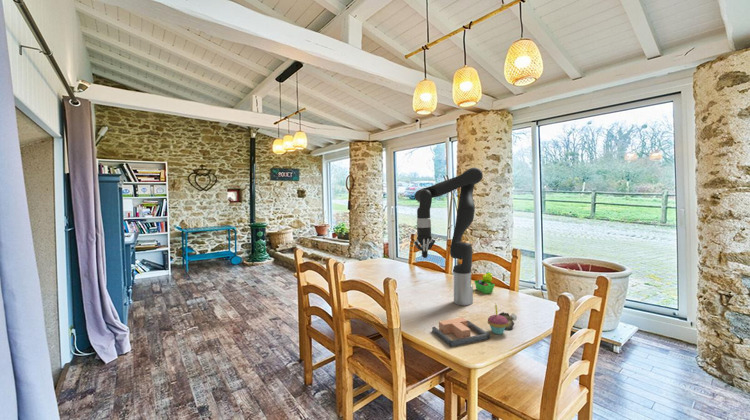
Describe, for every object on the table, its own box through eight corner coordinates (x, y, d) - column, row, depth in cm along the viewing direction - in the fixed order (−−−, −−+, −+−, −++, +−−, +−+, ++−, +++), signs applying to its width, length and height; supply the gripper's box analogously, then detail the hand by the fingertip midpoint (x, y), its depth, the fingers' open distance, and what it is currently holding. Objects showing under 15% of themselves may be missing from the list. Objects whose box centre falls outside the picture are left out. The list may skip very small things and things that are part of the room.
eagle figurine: (497, 317, 151) (492, 321, 144) (506, 306, 150) (501, 309, 142) (511, 330, 147) (506, 334, 140) (521, 318, 146) (517, 322, 138)
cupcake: (484, 328, 143) (484, 302, 143) (502, 326, 144) (502, 300, 144) (493, 337, 135) (493, 309, 134) (512, 335, 136) (512, 307, 135)
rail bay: (468, 324, 147) (467, 320, 147) (489, 339, 133) (489, 334, 133) (432, 331, 142) (432, 326, 142) (451, 347, 127) (450, 342, 127)
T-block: (462, 325, 147) (462, 317, 146) (478, 337, 135) (478, 327, 135) (439, 330, 143) (438, 321, 143) (453, 342, 131) (453, 332, 131)
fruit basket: (473, 288, 199) (473, 270, 198) (486, 287, 201) (486, 269, 200) (484, 294, 188) (483, 275, 187) (497, 293, 190) (497, 274, 189)
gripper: (431, 224, 180) (432, 255, 182) (409, 226, 176) (410, 257, 177) (438, 226, 173) (438, 257, 175) (416, 227, 169) (417, 260, 170)
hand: (424, 257), depth 176 cm, fingers closed
